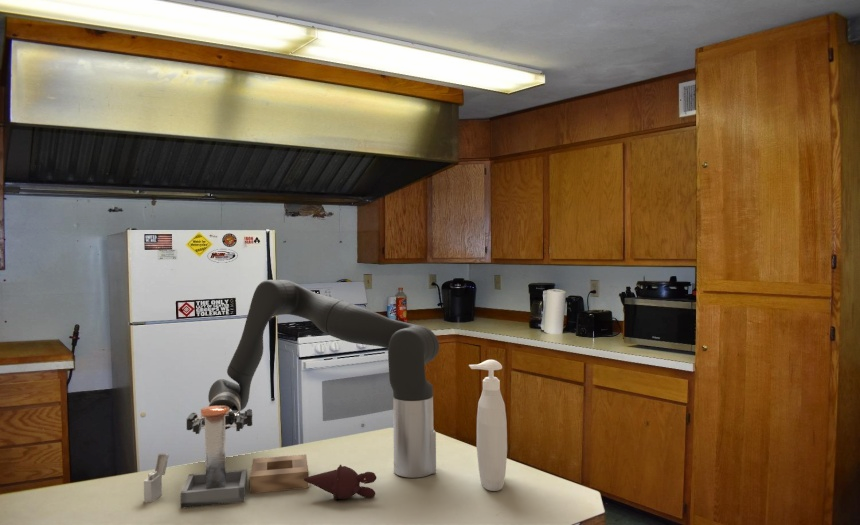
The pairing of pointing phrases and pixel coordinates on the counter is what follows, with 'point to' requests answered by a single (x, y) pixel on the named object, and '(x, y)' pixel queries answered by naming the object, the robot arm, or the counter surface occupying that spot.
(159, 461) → the lighter
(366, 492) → the icecream
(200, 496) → the tray
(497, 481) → the soap bottle
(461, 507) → the counter surface
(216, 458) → the pin
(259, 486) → the hitch block
